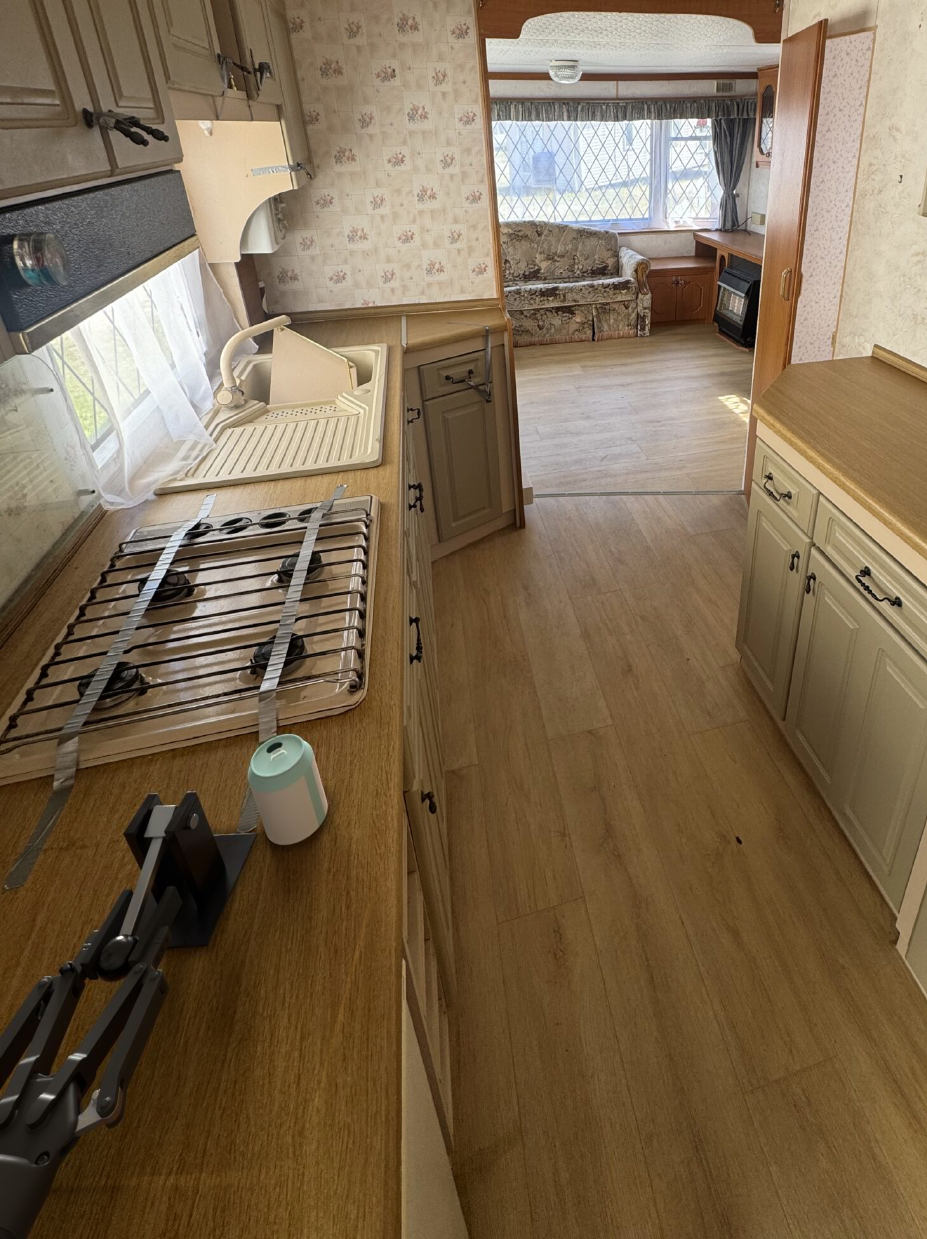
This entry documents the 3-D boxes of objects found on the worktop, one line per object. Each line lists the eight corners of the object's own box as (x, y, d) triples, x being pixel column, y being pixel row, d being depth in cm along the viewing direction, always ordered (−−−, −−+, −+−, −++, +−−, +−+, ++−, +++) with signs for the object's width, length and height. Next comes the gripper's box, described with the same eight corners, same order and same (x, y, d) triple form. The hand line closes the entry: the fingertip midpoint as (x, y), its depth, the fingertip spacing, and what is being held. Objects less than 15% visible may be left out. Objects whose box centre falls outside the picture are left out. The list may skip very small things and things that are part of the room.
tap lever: (141, 981, 62) (120, 980, 60) (102, 983, 62) (79, 983, 59) (195, 810, 71) (179, 803, 69) (161, 812, 71) (144, 805, 69)
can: (254, 843, 79) (229, 774, 74) (292, 791, 85) (271, 724, 80) (305, 856, 78) (284, 787, 73) (340, 801, 84) (322, 734, 79)
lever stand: (210, 951, 69) (172, 868, 63) (121, 956, 68) (76, 873, 63) (260, 838, 80) (232, 759, 74) (184, 842, 79) (149, 763, 74)
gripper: (-143, 1284, 47) (81, 922, 68) (98, 1265, 48) (245, 913, 69) (-198, 1242, 44) (55, 877, 65) (61, 1223, 44) (227, 867, 66)
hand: (153, 896), depth 67 cm, fingers closed on tap lever, 4 cm apart
